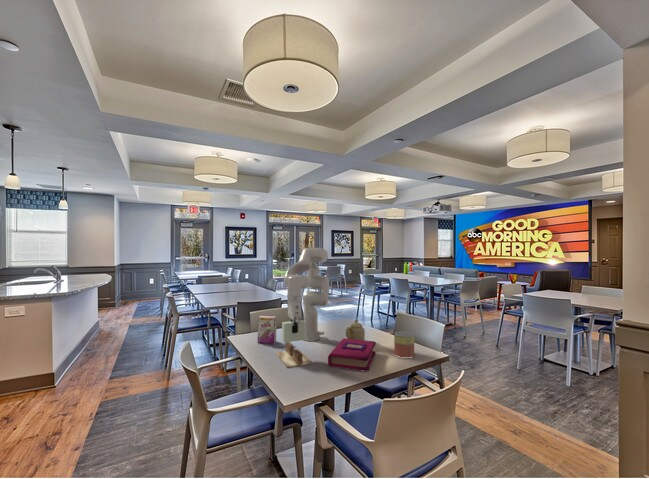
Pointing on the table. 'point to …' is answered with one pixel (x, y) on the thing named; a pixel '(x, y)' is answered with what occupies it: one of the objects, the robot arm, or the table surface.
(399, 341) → the canned food
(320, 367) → the table surface
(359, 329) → the sugar bowl
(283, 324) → the sage plate
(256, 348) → the table surface
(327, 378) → the table surface
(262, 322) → the candy bar box
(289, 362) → the slot board
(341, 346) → the book
